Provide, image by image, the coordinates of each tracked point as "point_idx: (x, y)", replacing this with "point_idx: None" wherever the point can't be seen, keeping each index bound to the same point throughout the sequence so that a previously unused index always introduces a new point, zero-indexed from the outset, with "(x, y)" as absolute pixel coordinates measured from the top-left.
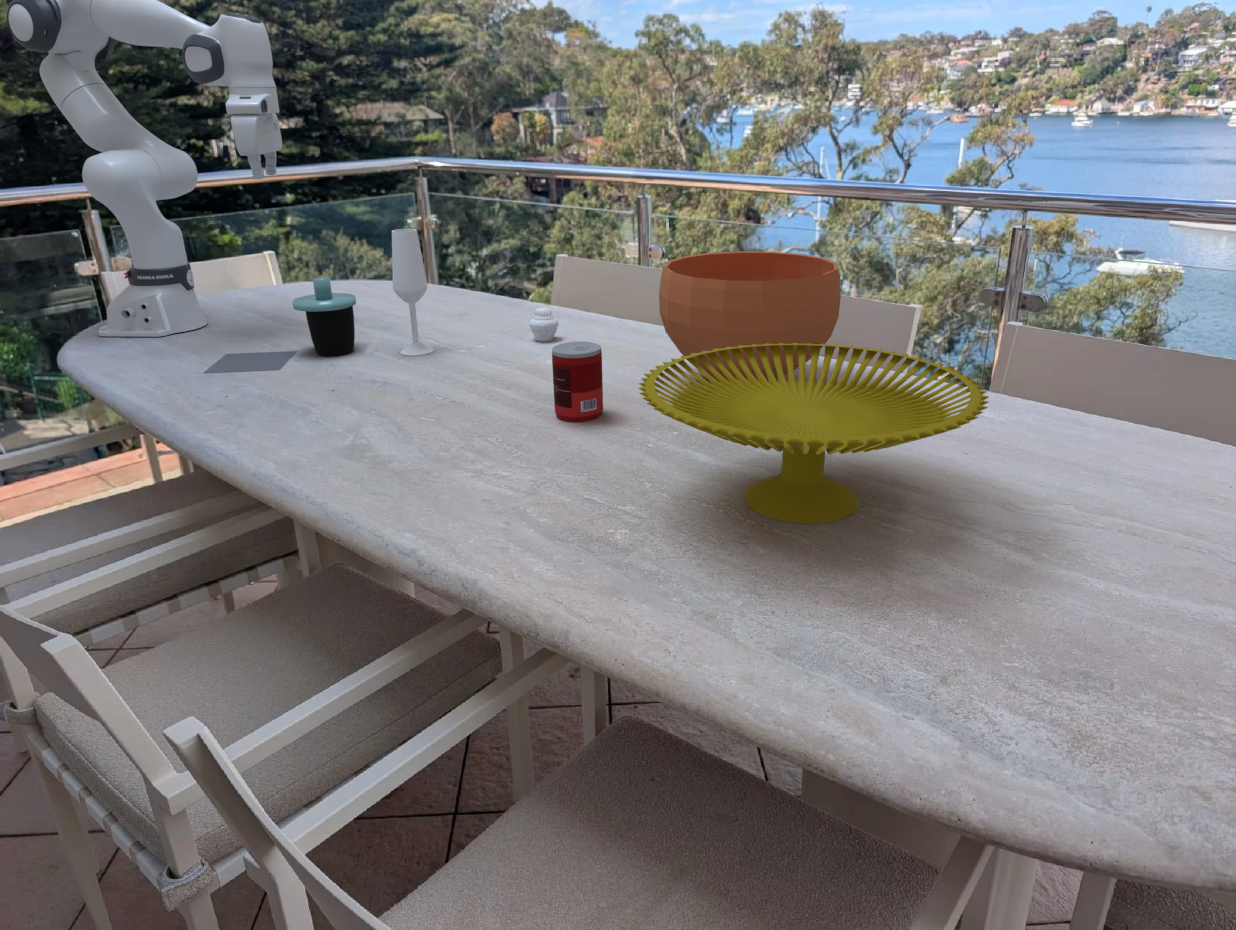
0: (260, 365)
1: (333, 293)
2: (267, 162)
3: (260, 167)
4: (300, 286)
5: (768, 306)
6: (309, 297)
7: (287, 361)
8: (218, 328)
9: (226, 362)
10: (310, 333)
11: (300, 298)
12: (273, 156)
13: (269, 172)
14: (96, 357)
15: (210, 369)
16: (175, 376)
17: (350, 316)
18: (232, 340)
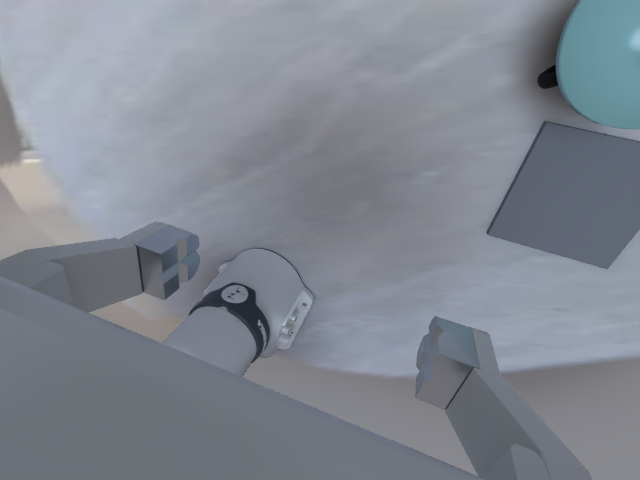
0: (625, 187)
1: (589, 5)
2: (114, 294)
3: (522, 398)
4: (42, 123)
5: None
6: (606, 81)
7: (629, 140)
8: (286, 236)
9: (554, 236)
10: None
11: (601, 107)
12: (63, 278)
13: (188, 263)
14: (390, 355)
15: (589, 258)
16: (563, 295)
17: None
18: (369, 221)
